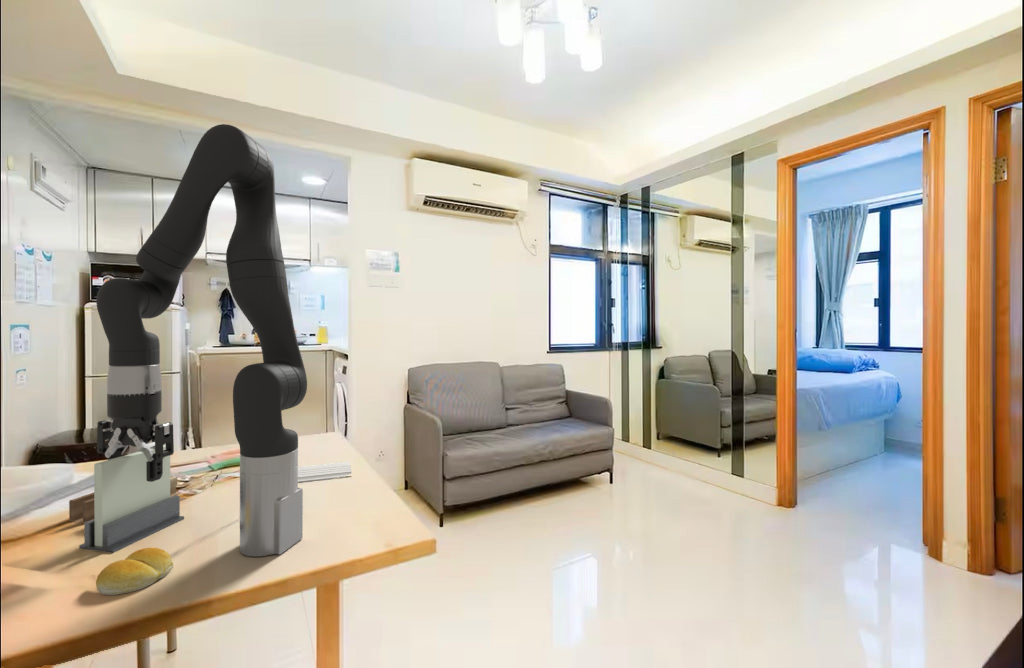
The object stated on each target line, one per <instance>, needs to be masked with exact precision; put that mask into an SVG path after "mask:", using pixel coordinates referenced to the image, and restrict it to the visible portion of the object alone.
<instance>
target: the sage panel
mask: <svg viewBox="0 0 1024 668" xmlns="http://www.w3.org/2000/svg"><path fill="white" fill-rule="evenodd" d="M151 450H152V452H153V454H154V453H155V450H154V449H151ZM163 450H166V444H164V445H163ZM124 455H125V456H121V457H117V458H114V459H110V460H108V459H107V460H104V461H99V462H96V463H94V464H93V470H94V471H93V473H94V474H93V482H94V487H93V488H94V489H93V491H94V512H95V546H103V525H104V524H106V523H109V522H111V521H113V520H116V519H118V518H121V517H123V516H126V515H128V514H131V513H133V512H135V511H138V510H140V509H143V508H145V507H148V506H150V505H153V504H155V503H158V502H160V501H162V500H165V499H167V498H170V476H171V455H170V456H166V457H164V458H163V470H162V471H163V474H162V476H161V478H160V479H158V480H156V481H153V482H148V481H147V479H146V462H147V461H148V460H147V458H146V456H145V455H144V453H143V452H140V451H139V450H138V451H136V452H131V453H129V454H124Z"/></svg>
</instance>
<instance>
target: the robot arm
mask: <svg viewBox="0 0 1024 668" xmlns="http://www.w3.org/2000/svg"><path fill="white" fill-rule="evenodd" d="M275 183H276V181H275V167H274V163H273V160H272V157H271V154H269V152H268V151H267V149H266V148H264V147H263V146H262V145H261V144H260V143H259V142H257V141H256V140H255V139H253V138H252V137H251V136H249V134H247V133H245V132H244V131H243V130H241V129H240V128H238V127H237V126H236V125H235V126H234V125H232V124H228V123H227V124H224V123H223V124H216V125H214V126H212V127H210V128H209V129H207V131H206V132H204V134H203V135H202V137H201V138H200V140H199V141H198V143H197V146H196V147H195V149H194V151H193V154H192V155H191V158H190V159H189V162H188V165H187V168H186V169H185V172H184V173H183V176H182V178H181V180H180V183H179V184H178V187H177V189H176V191H175V193H174V196H173V198H172V200H171V202H170V204H169V205H168V208H167V209H166V211H165V213H164V214H163V216H162V218H161V220H160V221H159V222H158V224H157V226H156V227H155V228H154V230H153V231H152V232H151V234H150V235H149V236H148V237H147V239H146V241H144V244H143V245H142V246H141V248H140V249H139V250H138V252H137V254H136V256H135V261H136V264H137V266H139V267H140V268H141V269H142V270H143V273H142V275H141V277H140V279H133V278H124V277H116V278H111V279H108V280H106V281H105V282H104V283H103V284H102V285H101V286H100V288H98V291H97V293H96V302H95V303H96V310H97V313H98V315H99V318H100V321H101V325H102V328H103V331H104V334H105V336H106V338H107V342H108V370H107V377H106V415H107V417H108V418H109V419H103V420H100V421H98V422H97V423H96V424H97V428H96V429H97V430H96V432H97V433H96V437H97V438H96V452H97V454H104V456H105V458H107V460H110V459H114V458H117V457H121V456H125V455H126V454H124V453H125V451H126V450H127V448H128V447H129V446H131V447H133V448H135V447H136V448H137V450H138V452H139V451H140V452H143V453H144V455H145V456H146V458H147V460H148V461H147V462H146V479H147V481H148V482H153V481H156V480H158V479H160V478H161V476H162V474H163V471H162V470H163V458H164V457H166V456H170V457H171V456H172V455H173V454H174V452H175V450H174V449H175V448H174V445H175V444H174V423H172V422H166V423H159V422H158V419H157V417H158V415H159V414H160V413H161V412H162V409H163V408H162V400H163V398H162V384H163V383H162V371H161V364H160V363H161V353H160V351H161V350H160V349H161V347H160V346H161V345H160V339H159V337H158V335H157V334H155V333H152V332H149V331H147V330H146V329H145V326H144V323H143V319H154V318H156V317H159V316H160V315H162V314H163V313H165V311H167V310H168V308H169V307H170V306H171V304H172V303H173V300H174V297H175V295H176V292H177V289H178V286H179V284H180V280H181V277H182V274H183V272H184V271H185V270H186V269H187V268H188V266H190V264H191V262H192V260H194V258H195V256H196V255H197V254H198V252H199V250H200V249H201V247H202V245H203V243H204V240H205V236H206V233H207V225H208V217H209V213H210V210H211V206H212V204H213V202H214V201H215V198H216V196H217V194H218V193H220V191H221V189H222V188H223V187H224V186H225V185H227V184H229V185H230V187H231V191H232V195H233V200H234V205H235V215H236V220H235V225H234V228H233V231H232V233H231V235H230V239H229V241H228V245H227V248H226V253H225V262H226V269H227V276H228V284H229V288H230V292H231V295H232V297H233V299H234V301H235V303H236V305H237V306H238V308H239V309H240V311H241V312H242V314H243V315H244V316H245V318H246V319H247V320H248V322H249V323H250V325H251V326H252V328H253V330H254V331H255V333H256V335H257V338H258V340H259V344H260V348H261V353H262V354H261V355H262V360H263V361H262V362H259V363H258V362H257V363H251V364H248V365H246V366H244V367H243V368H242V369H240V370H239V372H238V373H237V375H236V377H235V380H234V383H233V388H232V389H233V390H232V407H233V423H234V425H233V427H234V434H235V439H236V440H237V443H238V445H239V472H240V477H239V551H240V553H241V554H242V555H244V556H248V557H264V556H265V557H266V556H272V555H281V554H283V553H284V552H285V551H287V550H288V549H289V548H291V547H293V546H294V545H295V544H297V543H298V542H299V541H301V540H302V539H303V530H304V529H303V523H304V522H303V521H304V520H303V514H304V513H303V509H304V507H303V506H304V505H303V503H304V501H303V500H304V499H303V497H304V490H303V488H301V487H299V483H298V467H299V465H298V464H299V435H298V433H297V432H296V431H295V430H293V429H289V428H285V427H284V424H283V414H282V411H285V410H289V409H292V408H295V407H297V406H299V405H300V404H301V403H302V402H303V401H304V399H305V396H306V394H307V392H308V391H307V390H308V378H307V373H306V368H305V364H304V361H303V357H302V354H301V349H300V346H299V343H298V338H297V334H296V329H295V326H294V325H295V324H294V318H293V312H292V307H291V303H290V297H289V290H288V280H287V279H288V277H287V272H286V265H285V260H284V255H283V250H282V242H281V236H280V230H279V224H278V217H277V210H276V209H277V208H276V206H277V205H276V185H275ZM106 440H108V443H107V445H106ZM163 445H166V450H163ZM151 449H154V450H155V453H154V454H153V452H152V450H151Z"/></svg>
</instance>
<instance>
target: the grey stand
mask: <svg viewBox="0 0 1024 668" xmlns="http://www.w3.org/2000/svg"><path fill="white" fill-rule="evenodd" d="M180 498H181V497H180V495H178V494H177V495H175V496H172V497H170V498H167V499H165V500H162V501H160V502H158V503H155V504H153V505H150V506H148V507H145V508H143V509H140V510H138V511H135V512H133V513H131V514H128V515H126V516H123V517H121V518H118V519H116V520H113V521H111V522H109V523H106V524H104V525H103V546H95V519H93V520H90V521H87V522H85V523H83V524H84V525H83V526H84V527H83V528H84V535H83V536H84V542H83V543H82V544H79V546H78V547H79V549H81V550H88V551H95V552H103V553H108V554H109V553H111V554H114V553H117V552H118V551H120V550H122V549H125V548H127V547H129V546H131V545H133V544H136V543H138V542H139V541H141V540H143V539H146V538H148V537H150V536H152V535H154V534H156V533H158V532H160V531H163V530H164V529H166V528H168V527H169V528H170V527H171V526H173V525H175V524H177V523H180V522H181V521H184V520H185V516H184V515H183V516H182V515H180V511H181V510H180V507H181V506H180V505H181V503H180V502H181V501H180Z"/></svg>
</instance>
